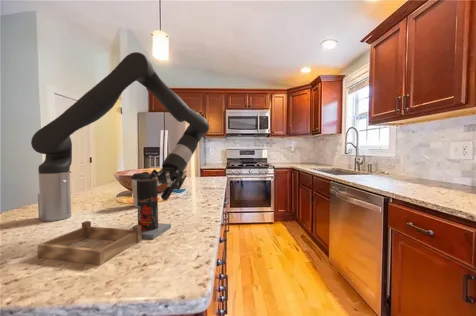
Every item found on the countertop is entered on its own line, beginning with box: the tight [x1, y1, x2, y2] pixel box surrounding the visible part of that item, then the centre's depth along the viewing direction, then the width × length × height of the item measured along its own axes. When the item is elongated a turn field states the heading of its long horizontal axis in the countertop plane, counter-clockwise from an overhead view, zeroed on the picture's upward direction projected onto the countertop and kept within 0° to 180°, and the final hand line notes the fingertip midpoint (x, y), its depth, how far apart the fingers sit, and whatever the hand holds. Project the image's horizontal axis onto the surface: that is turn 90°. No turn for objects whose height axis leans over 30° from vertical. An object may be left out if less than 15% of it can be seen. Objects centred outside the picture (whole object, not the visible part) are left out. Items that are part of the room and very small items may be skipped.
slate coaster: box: [128, 222, 172, 240], centre depth 74 cm, size 10×10×1 cm
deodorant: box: [136, 178, 159, 231], centre depth 74 cm, size 6×6×15 cm
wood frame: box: [36, 220, 143, 266], centre depth 62 cm, size 19×14×4 cm
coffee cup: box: [130, 171, 151, 208], centre depth 108 cm, size 9×9×15 cm
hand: (153, 197), depth 76 cm, fingers open, 8 cm apart
